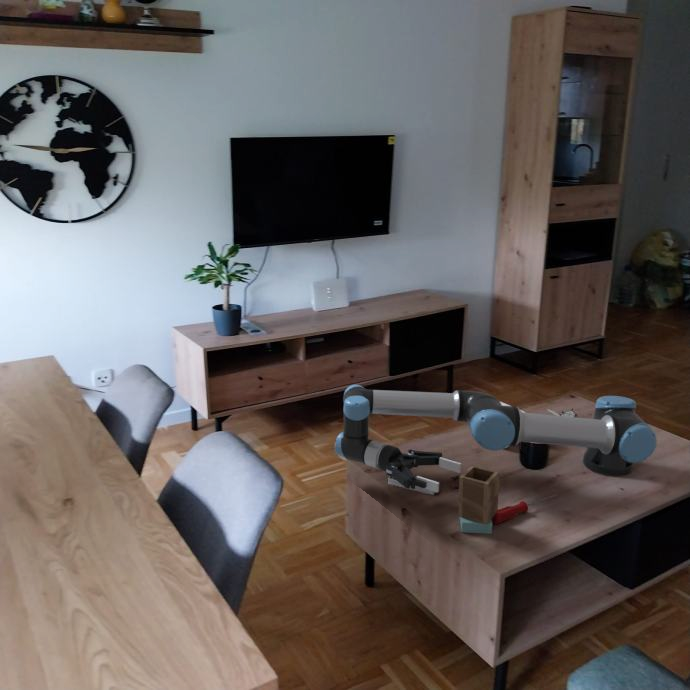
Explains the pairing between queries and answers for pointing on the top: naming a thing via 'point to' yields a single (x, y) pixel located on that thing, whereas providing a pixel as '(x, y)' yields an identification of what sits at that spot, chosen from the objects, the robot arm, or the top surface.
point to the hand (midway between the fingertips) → (449, 477)
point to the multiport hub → (419, 489)
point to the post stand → (475, 526)
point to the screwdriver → (513, 510)
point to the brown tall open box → (478, 494)
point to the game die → (569, 414)
